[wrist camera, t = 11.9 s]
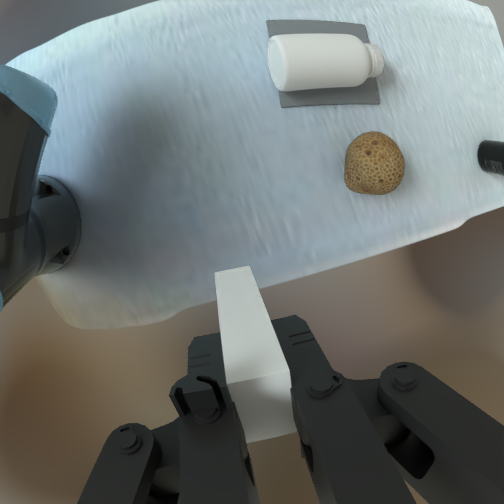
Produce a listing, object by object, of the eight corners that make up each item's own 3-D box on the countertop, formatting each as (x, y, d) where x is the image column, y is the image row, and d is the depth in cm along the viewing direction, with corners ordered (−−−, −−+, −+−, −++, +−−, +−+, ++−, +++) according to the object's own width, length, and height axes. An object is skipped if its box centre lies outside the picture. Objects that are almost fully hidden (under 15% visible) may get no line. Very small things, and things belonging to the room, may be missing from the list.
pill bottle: (267, 24, 30) (368, 26, 31) (264, 69, 37) (355, 64, 39) (287, 55, 27) (397, 57, 29) (281, 104, 35) (379, 97, 36)
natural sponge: (385, 139, 42) (424, 141, 33) (377, 193, 45) (415, 206, 35) (334, 127, 40) (368, 124, 31) (327, 185, 43) (359, 197, 34)
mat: (281, 107, 38) (282, 107, 38) (266, 21, 33) (266, 20, 33) (378, 104, 40) (379, 103, 39) (363, 25, 35) (364, 24, 34)
